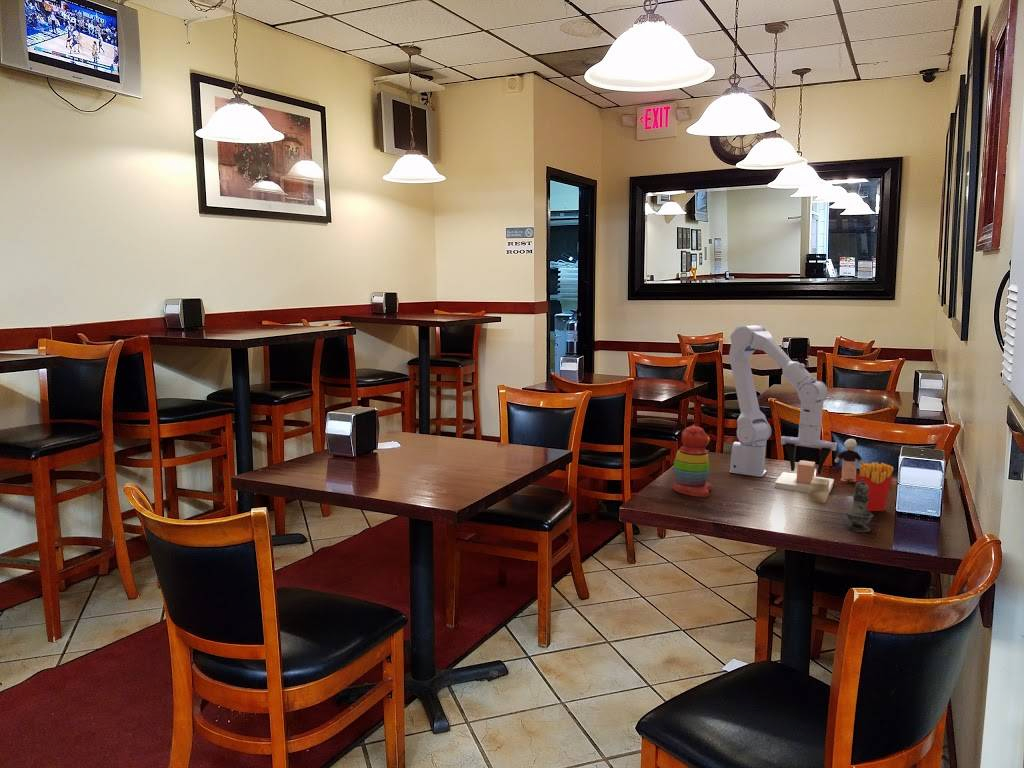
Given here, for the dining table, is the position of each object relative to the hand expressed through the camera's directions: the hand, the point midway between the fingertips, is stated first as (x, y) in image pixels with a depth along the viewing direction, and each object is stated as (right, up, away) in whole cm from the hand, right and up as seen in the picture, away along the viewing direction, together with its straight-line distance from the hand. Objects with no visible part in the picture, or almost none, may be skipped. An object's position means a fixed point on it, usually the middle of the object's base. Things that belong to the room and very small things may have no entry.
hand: (805, 472), depth 217 cm
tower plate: (0, -4, +1) cm, 4 cm away
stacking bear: (-34, -4, -9) cm, 36 cm away
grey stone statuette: (-1, -9, -36) cm, 37 cm away
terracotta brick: (0, -2, 0) cm, 2 cm away
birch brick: (-1, -6, -12) cm, 14 cm away
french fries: (+9, -7, -20) cm, 23 cm away
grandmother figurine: (+15, -4, +7) cm, 17 cm away
